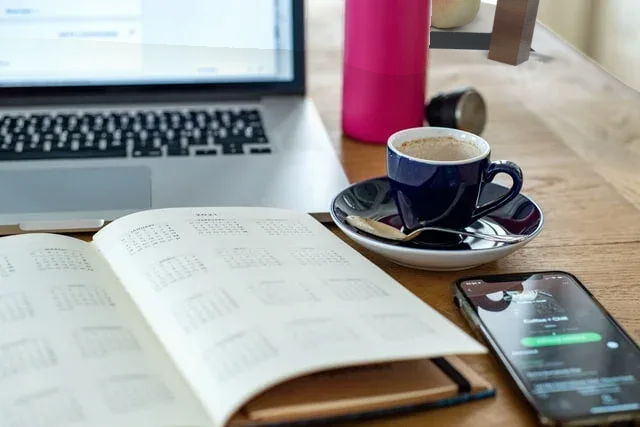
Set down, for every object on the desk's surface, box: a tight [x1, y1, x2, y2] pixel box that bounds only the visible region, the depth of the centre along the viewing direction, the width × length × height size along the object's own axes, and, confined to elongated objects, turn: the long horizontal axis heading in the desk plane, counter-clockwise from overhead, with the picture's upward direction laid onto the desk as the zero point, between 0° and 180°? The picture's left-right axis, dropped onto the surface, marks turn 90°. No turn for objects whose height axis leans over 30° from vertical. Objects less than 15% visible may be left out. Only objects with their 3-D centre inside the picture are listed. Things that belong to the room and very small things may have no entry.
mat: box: [428, 30, 536, 53], centre depth 125 cm, size 16×9×1 cm, turn 99°
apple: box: [430, 0, 482, 29], centre depth 132 cm, size 9×9×8 cm
